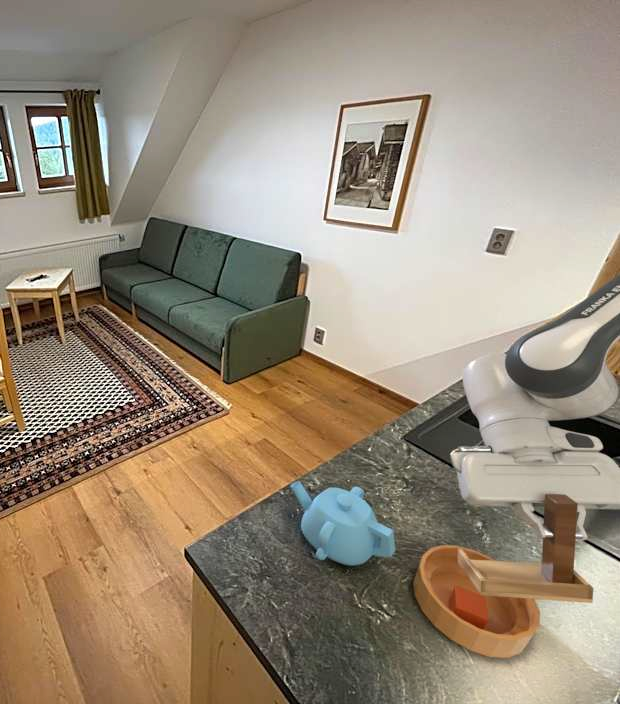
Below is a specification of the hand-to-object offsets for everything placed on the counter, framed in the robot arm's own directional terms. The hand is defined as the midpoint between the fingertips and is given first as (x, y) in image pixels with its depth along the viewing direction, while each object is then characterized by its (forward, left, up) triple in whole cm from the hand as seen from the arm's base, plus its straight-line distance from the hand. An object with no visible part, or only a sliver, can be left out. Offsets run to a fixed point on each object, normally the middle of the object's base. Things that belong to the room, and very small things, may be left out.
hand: (562, 539), depth 57 cm
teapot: (+20, -20, -18) cm, 34 cm away
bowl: (+7, -3, -18) cm, 20 cm away
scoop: (+4, 0, -8) cm, 9 cm away
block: (+9, -2, -18) cm, 20 cm away
